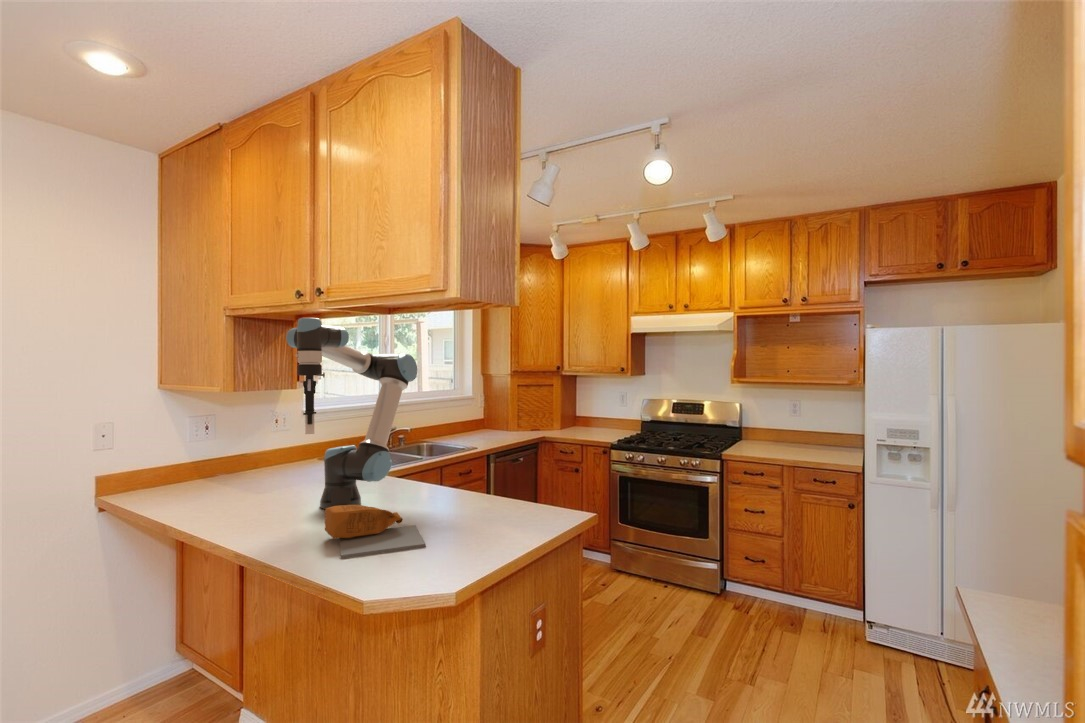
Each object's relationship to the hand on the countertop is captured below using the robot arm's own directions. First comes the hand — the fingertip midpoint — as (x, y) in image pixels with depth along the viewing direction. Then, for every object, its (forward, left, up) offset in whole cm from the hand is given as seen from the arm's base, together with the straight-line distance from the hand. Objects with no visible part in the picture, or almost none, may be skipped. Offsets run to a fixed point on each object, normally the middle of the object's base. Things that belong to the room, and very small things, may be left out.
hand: (309, 433), depth 174 cm
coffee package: (+16, +5, -26) cm, 31 cm away
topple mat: (+22, +21, -32) cm, 44 cm away
